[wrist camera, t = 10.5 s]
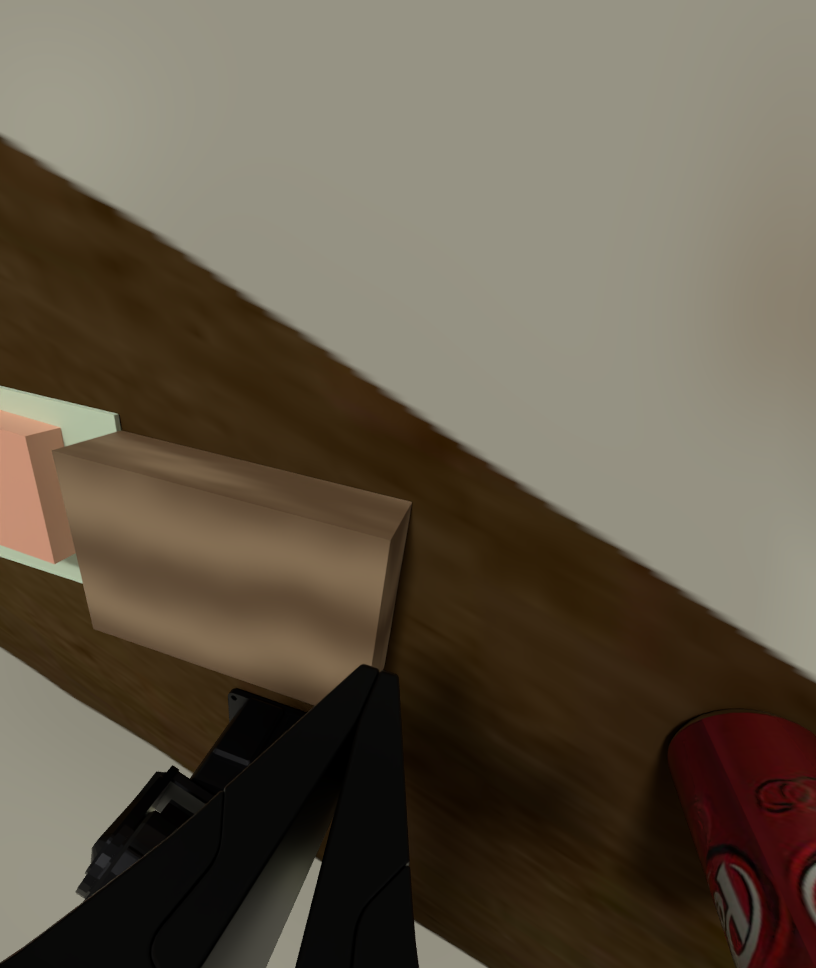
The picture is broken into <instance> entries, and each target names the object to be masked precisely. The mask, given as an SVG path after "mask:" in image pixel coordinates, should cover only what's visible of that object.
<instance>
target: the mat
mask: <svg viewBox="0 0 816 968" xmlns="http://www.w3.org/2000/svg"><path fill="white" fill-rule="evenodd" d="M0 410H3V411H6V412H9V413H13V414H16V415H20V416H23V417H27V418H30V419H33V420H37V421H40V422H44V423H47V424H50V425H54V426H57V427H61V432H62V437H63V442H64V447H65V446H69V445H72V444H76V443H79V442H83V441H86V440H90V439H93V438H97V437H100V436H103V435H107V434H110V433H114V432H117V431H121V427H120V420H119V414H116V413H112V412H108V411H104V410H99V409H95V408H91V407H87V406H83V405H78V404H74V403H70V402H66V401H62V400H57V399H53V398H49V397H45V396H41V395H37V394H32V393H28V392H24V391H20V390H16V389H11V388H7V387H3V386H0ZM0 557H3V558H6V559H9V560H12V561H16V562H19V563H22V564H25V565H28V566H31V567H34V568H37V569H40V570H43V571H46V572H49V573H52V574H55V575H58V576H61V577H65V578H68V579H71V580H74V581H77V582H80V583H83V582H82V578H81V573H80V569H79V565H78V561H77V556H76V553H75V554H73V555H71V556H69V557H67V558H66V559H64V560H62V561H60V562H58V563H56V564H52V563H50V562H47V561H44V560H41V559H38V558H35V557H33V556H30V555H27V554H24V553H21V552H19V551H16V550H13V549H10V548H7V547H4V546H2V545H0Z"/></svg>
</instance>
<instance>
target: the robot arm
mask: <svg viewBox="0 0 816 968" xmlns="http://www.w3.org/2000/svg"><path fill="white" fill-rule="evenodd" d="M228 703H229V720H230V723H229V724H228V725H227V727H226V728H225V730H224V731H223V733H222V734H221V735H220V737H219V738H218V740H217V741H216V742H215V744H214V745H213V747H212V748H211V749H210V751H209V752H208V754H207V755H206V757H205V758H204V759H203V761H202V762H201V764H200V765H199V766H198V768H197V769H196V771H195V772H194V773H193V775H192V776H191V778H190V779H189V778H188V777H186V776H185V775H183V774H182V773H180V772H179V769H178V768H176V767H175V766H171V768H170V769H169V770H168V771H167V772H156V773H155V774H154V775H153V776H152V778H151V779H150V781H149V782H148V783H147V784H146V785H145V787H144V788H143V789H142V790H141V792H140V793H139V794H138V795H137V796H136V798H135V799H134V800H133V801H132V802H131V804H130V805H129V806H128V807H127V808H126V809H125V810H124V811H123V812H122V813H121V815H120V816H119V817H118V818H117V819H116V820H115V821H114V822H113V823H112V825H111V826H110V827H109V828H108V829H107V830H106V831H105V832H104V833H103V834H102V836H101V837H100V838H99V839H98V840H97V842H96V843H95V844H94V846H93V847H92V854H91V864H90V866H89V867H88V869H87V870H86V872H85V874H86V876H85V878H84V879H83V881H82V882H81V884H80V885H79V887H78V889H77V890H76V893H77V894H78V895H80V896H81V897H83V898H85V900H84V901H83V903H81V904H80V905H79V906H77V907H76V908H75V909H73V910H72V911H71V912H69V913H68V914H67V915H65V916H64V917H63V918H61V919H60V920H59V921H57V922H56V923H55V924H53V925H52V926H51V927H49V928H48V929H47V930H46V931H44V932H43V933H42V934H40V935H39V936H38V937H36V938H35V939H33V940H32V941H31V942H29V943H28V944H27V945H25V946H24V947H23V948H21V949H20V950H18V951H17V952H15V953H14V954H12V955H11V956H9V957H8V958H6V959H5V960H3V961H2V962H1V963H0V968H266V966H267V964H268V962H269V959H270V957H271V955H272V953H273V950H274V948H275V946H276V943H277V941H278V939H279V937H280V935H281V932H282V930H283V928H284V925H285V923H286V921H287V919H288V917H289V914H290V912H291V910H292V908H293V905H294V903H295V901H296V899H297V896H298V894H299V892H300V889H301V887H302V885H303V883H304V881H305V878H306V876H307V874H308V872H309V869H310V867H311V865H312V863H313V860H314V858H315V856H316V854H317V851H318V849H319V847H320V845H321V842H322V840H323V838H324V836H325V833H326V831H327V829H328V827H329V824H330V822H331V820H332V818H333V821H332V824H331V828H330V832H329V836H328V840H327V844H326V848H325V852H324V856H323V860H322V864H321V868H320V872H319V876H318V880H317V884H316V888H315V892H314V895H313V899H312V903H311V907H310V911H309V916H308V919H307V923H306V927H305V931H304V935H303V939H302V943H301V947H300V951H299V955H298V958H297V962H296V967H295V968H419V964H418V956H417V948H416V941H415V929H414V916H413V904H412V891H411V873H410V867H409V866H408V865H409V861H410V860H409V843H408V826H407V809H406V792H405V775H404V758H403V741H402V724H401V707H400V690H399V677H398V675H397V674H394V673H391V672H388V671H385V670H381V671H380V672H379V669H378V668H376V667H373V666H370V665H366V664H361V665H360V666H358V667H357V668H356V669H355V670H354V671H353V672H352V673H351V674H349V675H348V676H347V677H346V678H345V679H344V680H343V681H342V682H341V683H340V684H338V685H337V686H336V687H335V688H334V689H333V690H332V691H331V692H330V693H328V694H327V695H326V696H325V697H324V698H323V699H322V700H321V701H320V702H318V703H317V704H316V705H315V706H314V707H313V708H312V709H311V710H310V711H309V712H307V713H304V712H301V711H298V710H295V709H293V708H290V707H287V706H284V705H281V704H278V703H276V702H273V701H270V700H267V699H264V698H261V697H259V696H256V695H253V694H250V693H247V692H244V691H241V690H239V689H232V690H231V692H230V693H229V694H228ZM155 809H156V810H157V811H156V810H155ZM154 810H155V811H154ZM158 811H159V812H160V813H159V812H158ZM333 815H334V817H333Z"/></svg>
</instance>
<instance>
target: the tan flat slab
mask: <svg viewBox="0 0 816 968" xmlns="http://www.w3.org/2000/svg"><path fill="white" fill-rule="evenodd" d="M52 455H53V459H54V463H55V467H56V472H57V476H58V480H59V484H60V489H61V493H62V497H63V501H64V505H65V510H66V514H67V518H68V522H69V527H70V531H71V535H72V539H73V544H74V548H75V552H76V556H77V561H78V565H79V569H80V573H81V578H82V582H83V586H84V590H85V594H86V599H87V603H88V607H89V611H90V616H91V620H92V624H93V628H94V629H96V630H99V631H101V632H104V633H107V634H110V635H113V636H116V637H119V638H122V639H125V640H127V641H130V642H133V643H136V644H139V645H142V646H145V647H148V648H150V649H153V650H156V651H159V652H162V653H165V654H168V655H171V656H173V657H176V658H179V659H182V660H185V661H188V662H191V663H194V664H197V665H199V666H202V667H205V668H208V669H211V670H214V671H217V672H220V673H222V674H225V675H228V676H231V677H234V678H237V679H240V680H243V681H245V682H248V683H251V684H254V685H257V686H260V687H263V688H266V689H268V690H271V691H274V692H277V693H280V694H283V695H286V696H289V697H292V698H294V699H297V700H300V701H303V702H306V703H309V704H312V705H316V704H317V703H318V702H320V701H321V700H322V699H323V698H324V697H325V696H326V695H327V694H328V693H330V692H331V691H332V690H333V689H334V688H335V687H336V686H337V685H338V684H340V683H341V682H342V681H343V680H344V679H345V678H346V677H347V676H348V675H349V674H351V673H352V672H353V671H354V670H355V669H356V668H357V667H358V666H360V665H361V664H366V665H370V666H373V667H376V668H378V669H379V672H380V671H381V670H383V669H384V666H385V660H386V654H387V648H388V642H389V636H390V630H391V624H392V618H393V613H394V607H395V601H396V595H397V589H398V583H399V577H400V571H401V565H402V559H403V553H404V547H405V541H406V535H407V529H408V523H409V518H410V512H411V506H412V502H409V501H405V500H401V499H397V498H393V497H389V496H385V495H381V494H377V493H373V492H369V491H365V490H361V489H357V488H353V487H349V486H345V485H340V484H336V483H332V482H328V481H324V480H320V479H316V478H312V477H308V476H304V475H300V474H296V473H292V472H288V471H284V470H280V469H276V468H271V467H267V466H263V465H259V464H255V463H251V462H247V461H243V460H239V459H235V458H231V457H227V456H223V455H219V454H215V453H211V452H207V451H203V450H198V449H194V448H190V447H186V446H182V445H178V444H174V443H170V442H166V441H162V440H158V439H154V438H150V437H146V436H142V435H138V434H134V433H130V432H125V431H117V432H114V433H110V434H107V435H103V436H100V437H97V438H93V439H90V440H86V441H83V442H79V443H76V444H72V445H69V446H65V447H62V448H58V449H55V450H52Z"/></svg>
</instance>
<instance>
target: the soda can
mask: <svg viewBox="0 0 816 968" xmlns="http://www.w3.org/2000/svg"><path fill="white" fill-rule="evenodd" d="M667 760H668V766H669V770H670V773H671V776H672V779H673V782H674V785H675V788H676V791H677V794H678V797H679V800H680V803H681V806H682V809H683V812H684V815H685V818H686V821H687V824H688V827H689V830H690V833H691V835H692V838H693V841H694V844H695V847H696V850H697V853H698V856H699V859H700V862H701V865H702V868H703V871H704V874H705V877H706V880H707V883H708V886H709V889H710V892H711V895H712V898H713V901H714V904H715V907H716V910H717V913H718V916H719V919H720V922H721V925H722V928H723V931H724V934H725V937H726V940H727V943H728V946H729V949H730V952H731V955H732V958H733V961H734V964H735V967H736V968H816V736H815V735H814V734H813V733H812V732H811V731H809V730H807V729H806V728H804V727H802V726H800V725H799V724H797V723H795V722H793V721H790V720H787V719H785V718H782V717H779V716H777V715H774V714H771V713H766V712H762V711H757V710H748V709H726V710H719V711H714V712H710V713H707V714H703V715H701V716H699V717H696V718H694V719H692V720H690V721H689V722H688V723H686V724H685V725H683V726H682V727H681V728H680V729H679V731H678V732H677V733H676V734H675V735H674V737H673V738H672V740H671V742H670V745H669V747H668V753H667Z"/></svg>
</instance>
